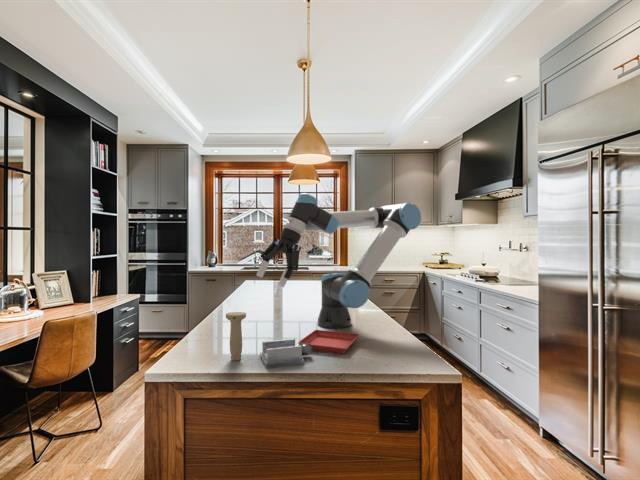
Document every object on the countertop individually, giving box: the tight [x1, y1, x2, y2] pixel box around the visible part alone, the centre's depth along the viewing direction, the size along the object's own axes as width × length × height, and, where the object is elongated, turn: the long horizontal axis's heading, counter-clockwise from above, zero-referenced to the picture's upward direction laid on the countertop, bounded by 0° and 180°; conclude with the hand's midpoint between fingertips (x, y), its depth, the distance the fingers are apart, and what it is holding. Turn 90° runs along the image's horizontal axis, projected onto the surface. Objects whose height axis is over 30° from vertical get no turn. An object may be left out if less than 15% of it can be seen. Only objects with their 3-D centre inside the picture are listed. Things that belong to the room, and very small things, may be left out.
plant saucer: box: [297, 329, 360, 355], centre depth 135 cm, size 18×18×3 cm
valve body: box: [259, 338, 313, 369], centre depth 121 cm, size 16×12×5 cm
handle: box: [225, 311, 247, 362], centre depth 120 cm, size 5×6×15 cm
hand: (269, 281), depth 140 cm, fingers open, 13 cm apart
